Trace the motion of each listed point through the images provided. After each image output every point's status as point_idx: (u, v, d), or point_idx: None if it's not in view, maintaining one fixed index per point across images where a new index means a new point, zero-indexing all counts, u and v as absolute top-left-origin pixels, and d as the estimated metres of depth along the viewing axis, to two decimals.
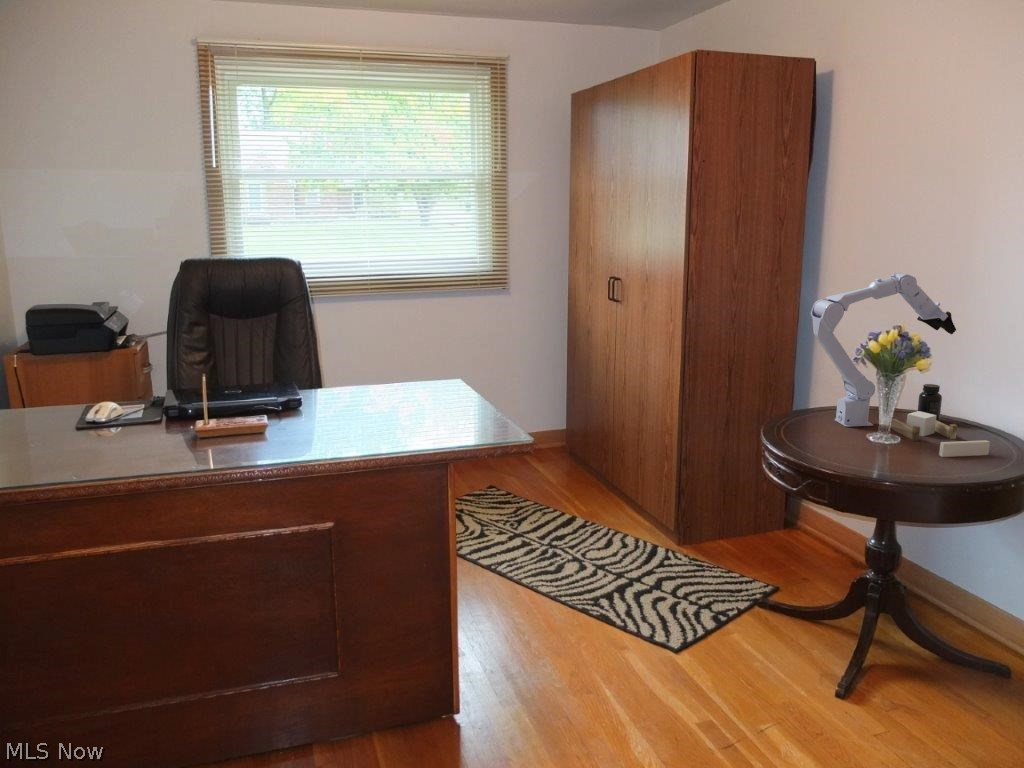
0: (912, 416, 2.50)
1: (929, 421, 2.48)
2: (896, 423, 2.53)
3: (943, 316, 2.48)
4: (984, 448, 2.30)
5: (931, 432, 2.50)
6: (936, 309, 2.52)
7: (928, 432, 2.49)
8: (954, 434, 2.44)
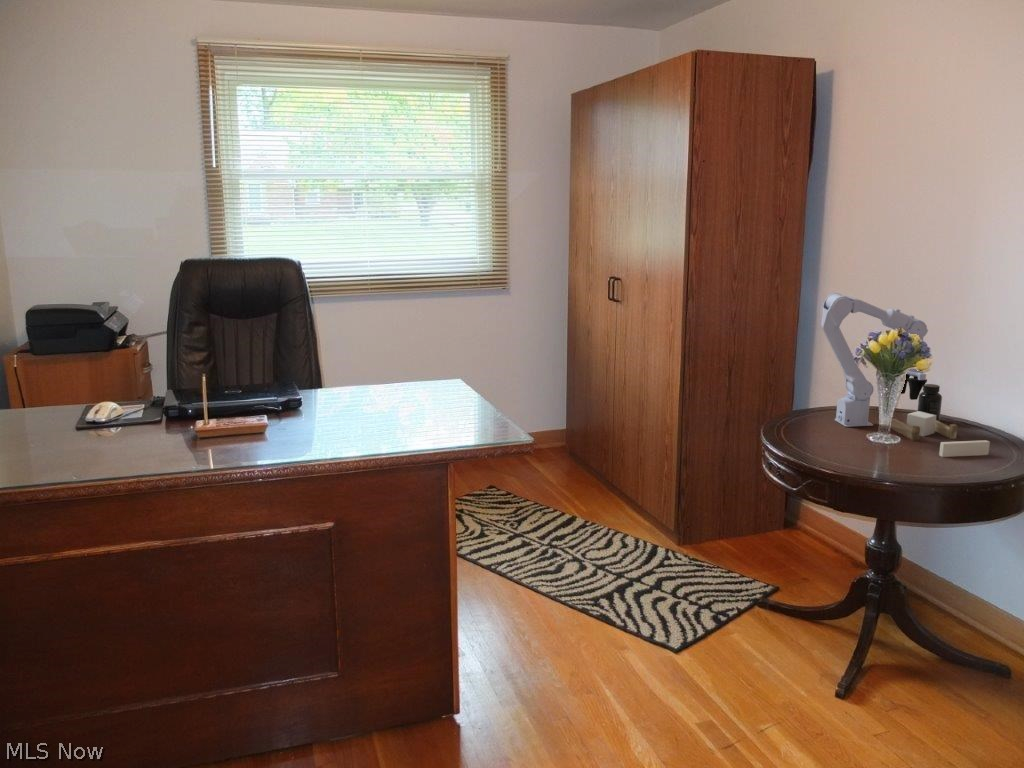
0: (912, 416, 2.50)
1: (929, 421, 2.48)
2: (896, 423, 2.53)
3: (922, 376, 2.49)
4: (984, 448, 2.30)
5: (931, 432, 2.50)
6: None
7: (928, 432, 2.49)
8: (954, 434, 2.44)
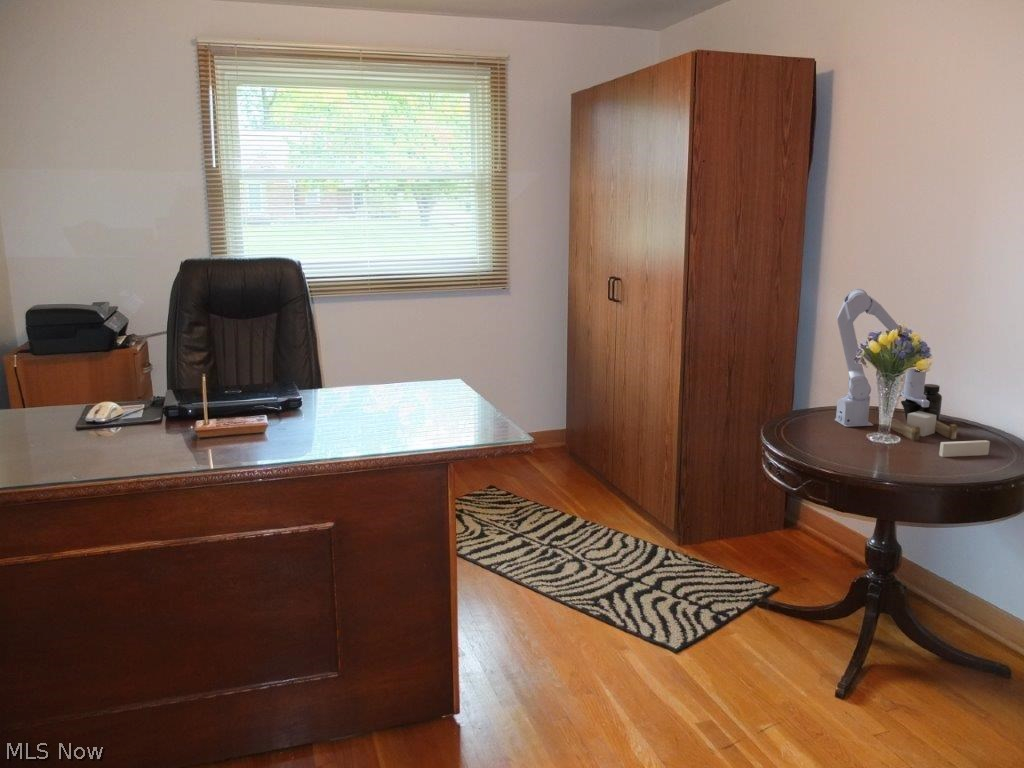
0: (912, 416, 2.50)
1: (930, 421, 2.48)
2: (896, 423, 2.53)
3: (925, 403, 2.48)
4: (984, 448, 2.30)
5: (931, 432, 2.50)
6: (921, 397, 2.52)
7: (928, 431, 2.49)
8: (954, 434, 2.44)
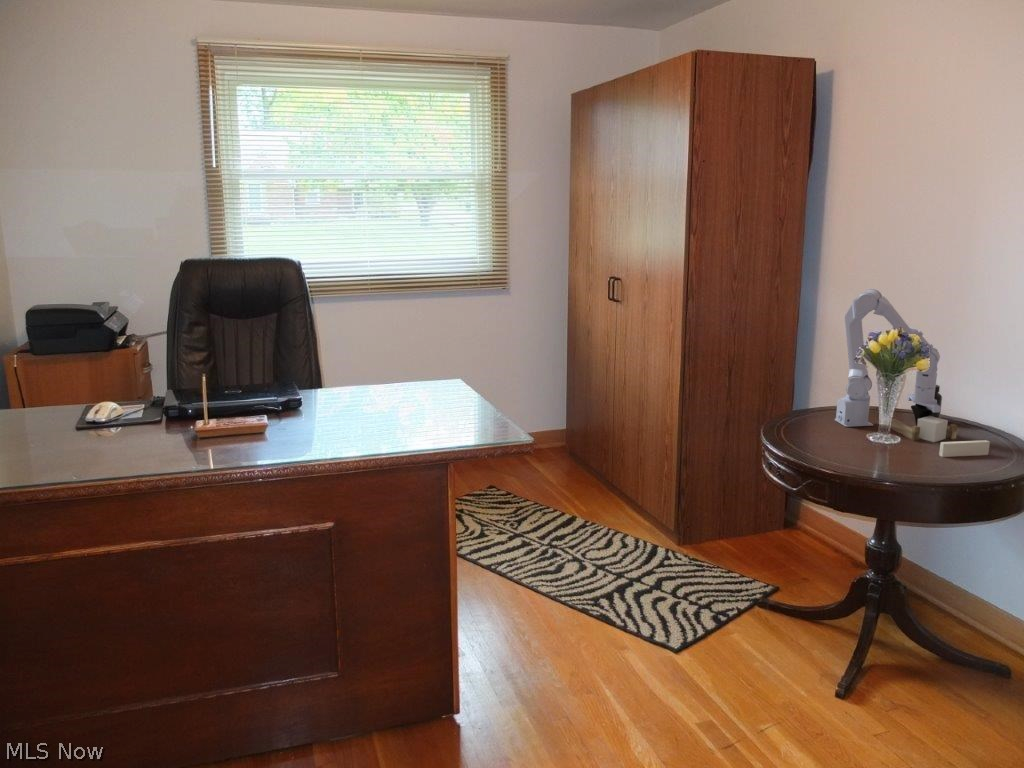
0: (922, 421, 2.44)
1: (940, 426, 2.42)
2: (896, 423, 2.53)
3: (936, 408, 2.42)
4: (984, 448, 2.30)
5: (942, 437, 2.44)
6: (932, 402, 2.47)
7: (939, 437, 2.43)
8: (954, 434, 2.44)
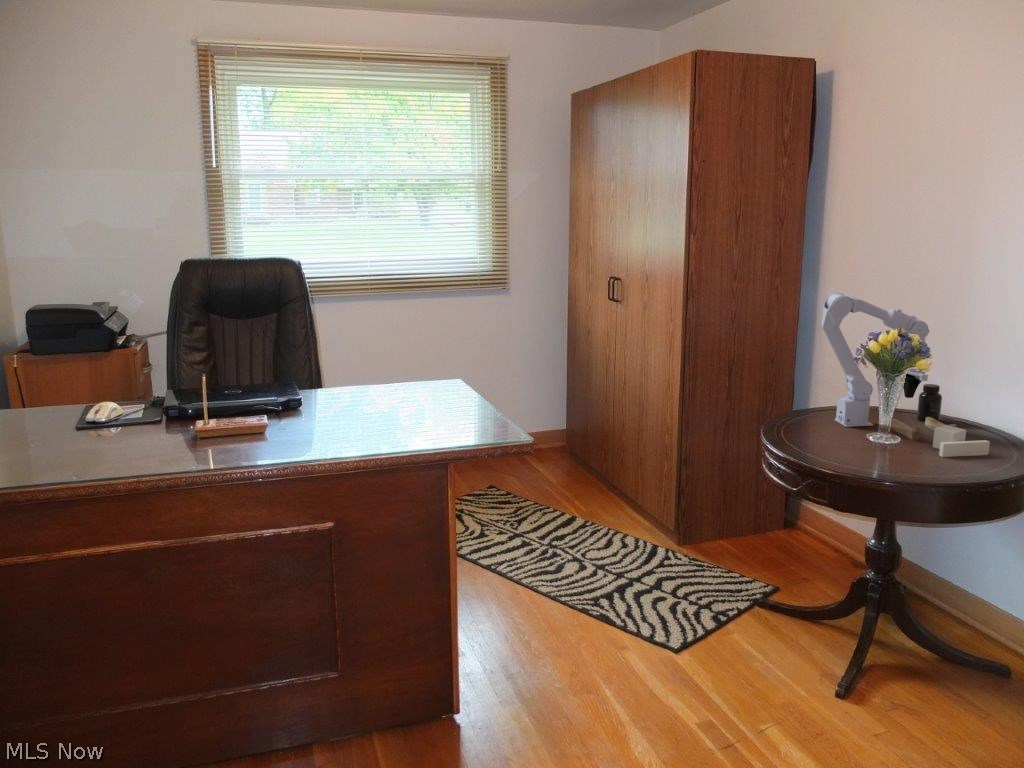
0: (939, 430, 2.35)
1: (958, 436, 2.33)
2: (896, 423, 2.53)
3: (924, 377, 2.48)
4: (984, 448, 2.30)
5: None
6: None
7: None
8: None
